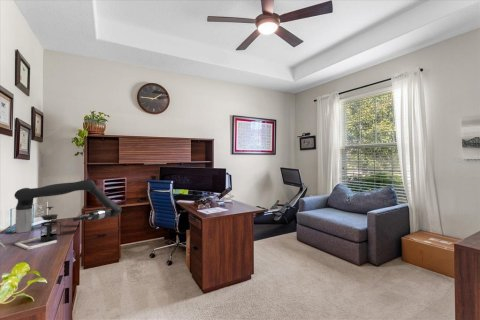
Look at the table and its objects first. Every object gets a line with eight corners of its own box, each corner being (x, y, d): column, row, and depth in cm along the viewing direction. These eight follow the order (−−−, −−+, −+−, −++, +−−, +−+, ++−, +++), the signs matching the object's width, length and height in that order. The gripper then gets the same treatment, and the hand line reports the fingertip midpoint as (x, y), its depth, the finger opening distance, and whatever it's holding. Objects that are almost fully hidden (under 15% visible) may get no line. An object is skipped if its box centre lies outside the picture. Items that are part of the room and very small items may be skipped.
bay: (14, 244, 150) (14, 242, 150) (43, 237, 164) (43, 236, 164) (27, 249, 142) (27, 247, 142) (56, 242, 155) (56, 240, 155)
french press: (37, 243, 152) (38, 208, 153) (40, 239, 160) (41, 206, 161) (59, 240, 159) (60, 207, 159) (61, 236, 167) (62, 204, 167)
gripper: (92, 209, 191) (68, 213, 176) (101, 211, 185) (78, 215, 170) (92, 218, 191) (68, 223, 175) (101, 220, 185) (78, 225, 169)
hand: (73, 219), depth 173 cm, fingers closed
